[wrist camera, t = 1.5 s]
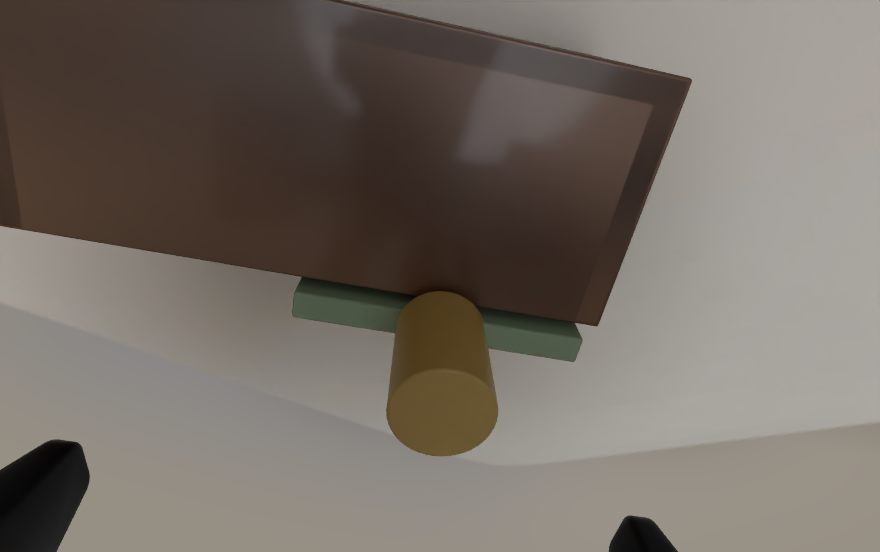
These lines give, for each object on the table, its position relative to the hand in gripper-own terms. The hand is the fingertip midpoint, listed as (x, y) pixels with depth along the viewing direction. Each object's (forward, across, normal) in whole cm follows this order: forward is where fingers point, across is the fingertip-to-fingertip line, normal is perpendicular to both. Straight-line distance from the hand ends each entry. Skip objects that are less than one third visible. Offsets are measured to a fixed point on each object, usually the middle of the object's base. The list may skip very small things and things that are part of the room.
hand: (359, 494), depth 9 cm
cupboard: (+15, +2, -2) cm, 15 cm away
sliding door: (+13, -1, +2) cm, 13 cm away
